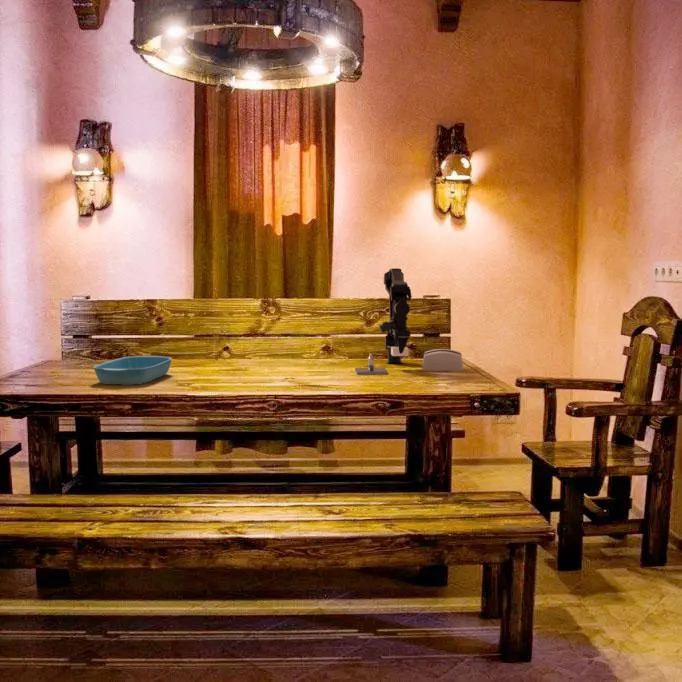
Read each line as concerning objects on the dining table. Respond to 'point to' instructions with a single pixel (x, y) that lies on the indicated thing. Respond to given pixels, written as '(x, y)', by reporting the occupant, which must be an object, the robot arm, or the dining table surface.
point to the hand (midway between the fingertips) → (399, 352)
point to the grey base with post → (370, 368)
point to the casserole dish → (132, 369)
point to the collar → (396, 351)
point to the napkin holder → (442, 360)
